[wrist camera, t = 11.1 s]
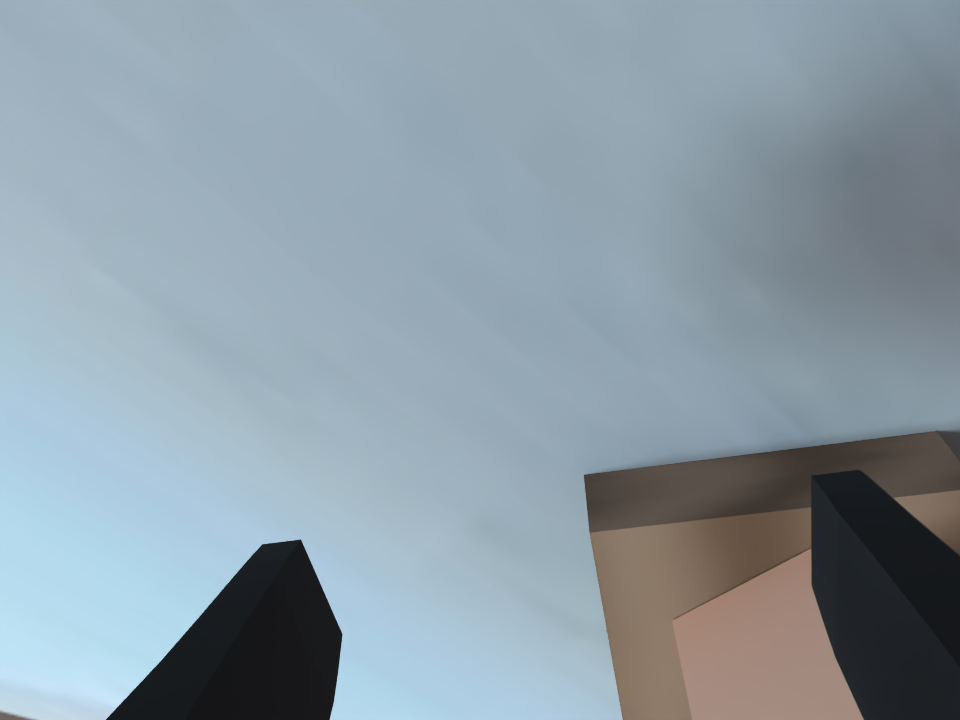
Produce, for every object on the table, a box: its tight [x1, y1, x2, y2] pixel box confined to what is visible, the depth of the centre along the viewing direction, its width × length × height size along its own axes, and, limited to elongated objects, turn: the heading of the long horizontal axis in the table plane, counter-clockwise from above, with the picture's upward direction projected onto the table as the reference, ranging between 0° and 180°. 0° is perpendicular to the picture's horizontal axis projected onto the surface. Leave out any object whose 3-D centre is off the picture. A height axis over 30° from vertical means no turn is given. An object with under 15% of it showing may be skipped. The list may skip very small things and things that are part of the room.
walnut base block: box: [584, 431, 960, 720], centre depth 24 cm, size 10×10×3 cm
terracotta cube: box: [672, 549, 864, 720], centre depth 21 cm, size 5×5×5 cm
